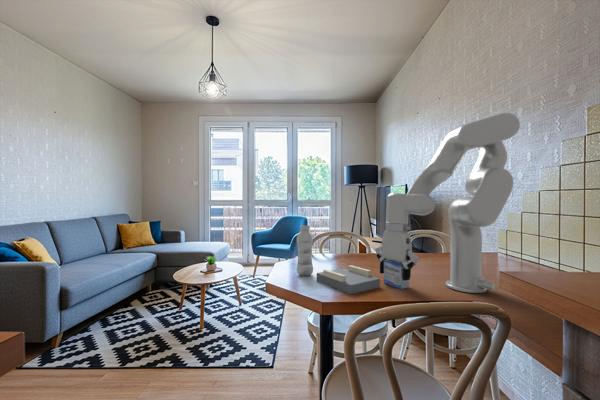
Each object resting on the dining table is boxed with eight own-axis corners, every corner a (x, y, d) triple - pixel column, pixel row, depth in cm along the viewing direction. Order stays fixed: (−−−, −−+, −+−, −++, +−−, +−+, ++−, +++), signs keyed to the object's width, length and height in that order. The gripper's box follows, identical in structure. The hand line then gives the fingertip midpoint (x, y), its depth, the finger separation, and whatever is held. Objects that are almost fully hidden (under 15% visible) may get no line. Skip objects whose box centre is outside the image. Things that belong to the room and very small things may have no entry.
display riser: (379, 287, 100) (379, 272, 100) (350, 294, 92) (351, 278, 92) (343, 275, 115) (344, 263, 115) (316, 281, 107) (316, 267, 107)
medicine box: (383, 283, 104) (382, 260, 104) (391, 281, 107) (391, 258, 107) (401, 289, 98) (401, 264, 98) (409, 287, 100) (409, 262, 100)
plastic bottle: (313, 277, 111) (313, 226, 111) (296, 277, 112) (296, 226, 112) (312, 273, 118) (313, 225, 118) (296, 273, 118) (297, 225, 118)
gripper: (425, 230, 96) (422, 281, 96) (383, 225, 110) (381, 269, 110) (411, 231, 92) (409, 284, 92) (370, 225, 106) (368, 271, 106)
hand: (394, 276), depth 101 cm, fingers open, 9 cm apart
